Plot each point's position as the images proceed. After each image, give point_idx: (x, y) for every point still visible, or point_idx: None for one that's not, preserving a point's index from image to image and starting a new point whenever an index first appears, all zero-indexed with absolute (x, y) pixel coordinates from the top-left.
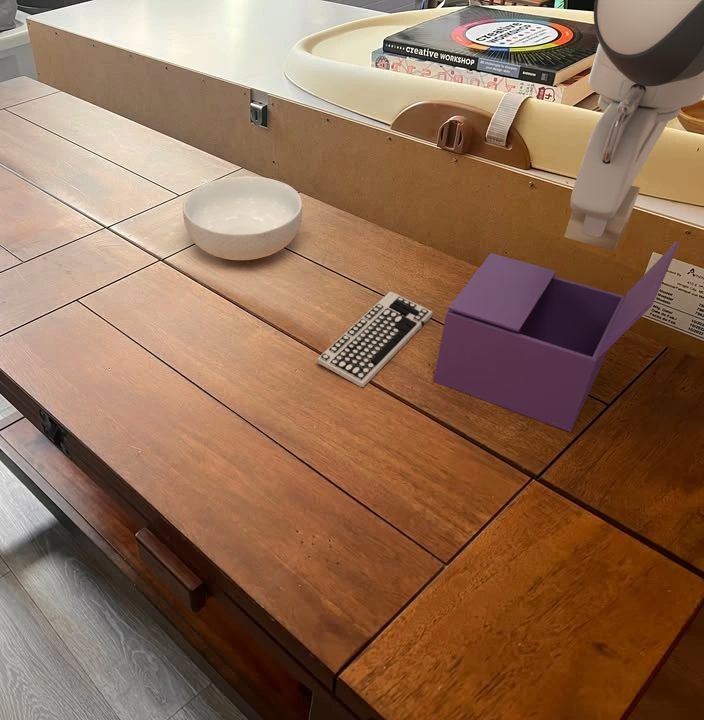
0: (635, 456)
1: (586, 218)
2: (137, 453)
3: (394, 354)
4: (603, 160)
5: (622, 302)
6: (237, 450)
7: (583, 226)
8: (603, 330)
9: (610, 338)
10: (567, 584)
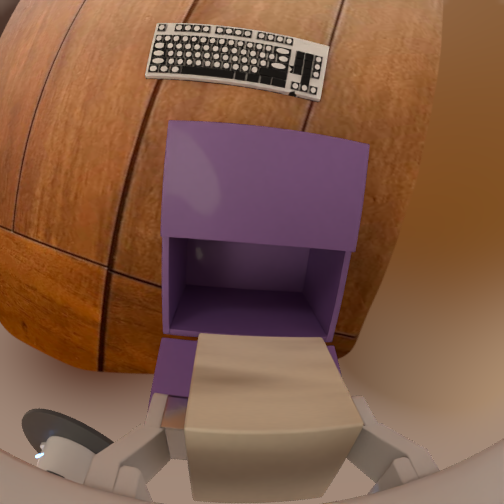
0: (182, 337)
1: (146, 420)
2: (25, 7)
3: (217, 82)
4: (364, 495)
5: None
6: (39, 47)
7: (150, 402)
8: (314, 305)
9: (176, 355)
10: (42, 305)
